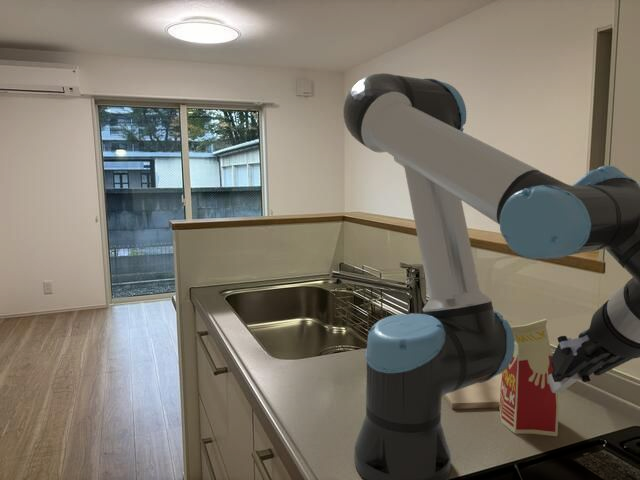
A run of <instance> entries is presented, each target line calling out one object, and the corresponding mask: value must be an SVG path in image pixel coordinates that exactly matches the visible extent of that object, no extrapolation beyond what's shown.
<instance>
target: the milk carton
mask: <svg viewBox="0 0 640 480" xmlns="http://www.w3.org/2000/svg"><path fill="white" fill-rule="evenodd" d="M547 322H548V319H547V318H544V319H541V320H537V321H534V322H530V323H528V324H521V325H515V326H510V327H511V329H512V332H513V336H514V343H515V347H514V354H513V358H512V360H511V362H510V364H509V365H508V366H507V368H506V369H505V370H504V371H503V372H502V379H501V387H500V406H499V407H498V408H499V415H500V416H499V417H500V422H501V424H502V425H504V426H505V427H506V428H508V429H509V430H510V431H511V432H513V433H514V434H516V435H517V434H521V435H522V434H527V435H528V434H530V435H531V434H534V435H542V436H553V437H558V429H559V427H558V426H559V413H560V412H559V411H560V410H559V409H560V404H559V393H552V391H551V388H550V385H549V382H548V379H547V376H549V375H550V374H551V373H552V372H553V368H552V365H551V362H550V360H551V358H552V356H553V352H552V347H551V343H550V339H549V335H548V331H547V330H548V329H547Z"/></svg>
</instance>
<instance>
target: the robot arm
mask: <svg viewBox="0 0 640 480" xmlns="http://www.w3.org/2000/svg"><path fill="white" fill-rule="evenodd" d="M345 97H346V98H345V99H344V104H343V120H344V123H345V126H346V129H347V130H348V132H349V133H350V134H351V136H352V137H353V138H354V139H355V140H356V141H357V142H358V143H360V144H361V145H363V146H365V147H366V148H367V149H369V150H371V151H372V152H375V153H378V154H379V153H388V154H389V155H391V156H392V157H393V161H394V162H395V163H397V164H398V165H400V166H402V167H403V168H404V173H405V178H406V183H407V187H408V193H409V200H410V203H411V208H412V215H413V221H414V225H415V231H416V235H417V240H418V246H419V252H420V256H421V261H422V265H423V266H422V267H423V272H424V277H425V281H426V282H425V284H426V286H427V287H426V288H427V293H428V301H426V303H425V305H424V307H423V308H422V313H414V312H411V313H409V314H405V313H400V314H399V313H398V314H392V315H390V316H386V317H383V318H382V319H380V320H378V321H377V322H375V323H374V324H373V325H372V326H371V328H370V329H369V331H368V334H367V343H366V344H367V345H366V349H365V360H366V385H365V386H366V390H365V391H366V393H365V394H366V396H365V398H366V399H365V401H366V402H365V404H366V405H365V417H364V419H363V421H362V425H361V428H360V430H359V432H358V433H359V434H358V436H357V439H356V442H355V444H354V454H353V455H354V460H353V461H354V466H355V469H356V471H357V472H358V474H359V475H360V476H361V477H362V478H363V479H365V480H448V479H449V477H450V475H451V461H452V459H451V453H450V448H449V445H448V442H447V438H446V436H445V433H444V429H443V426H442V419H441V418H442V417H441V416H442V398H443V395H445V394H447V393H450V392H453V391H456V390H459V389H462V388H465V387H467V386H470V385H473V384H476V383H482V382H485V381H488V380H490V379H491V378H493V377H494V376H496V375H498V374H500V373H502V372H503V371H504V370H505V369H506V368H507V366H508V365H509V364H510V362H511V360H512V358H513V354H514V347H515V343H514V336H513V332H512V329H511V327H512V326H511V325H510V324H509V322H508V320H506V319H504V318H503V315H502V314H501V313H500V312H498V311H497V310H494V306H493V302H492V301H493V300H492V298H491V297H489V296H487V295H486V294H485V293H483V291H482V290H481V289H480V285H479V280H478V275H477V270H476V266H475V265H476V264H475V259H474V256H473V251H472V250H473V249H472V245H471V241H470V235H469V229H468V227H467V222H466V216H465V215H466V214H465V211H464V207H463V203H465V204H467V205H468V206H469V207H471V208H473V209H475V210H476V211H478V212H479V213H480V214H482V215H483V216H485V217H487V218H489V219H490V220H492V221H493V222H495V223H496V224H497V225H499V231H500V233H501V236H502V237H503V238H504V240H505V242H506V244H507V247H509V249H510V250H511V251H512V252H513V253H516V254H517V255H518V256H520V257H521V256H522V257H524V258H526V259H527V258H528V259H535V260H536V259H538V260H539V259H540V260H541V259H545V260H554V259H561V258H566V257H568V256H572V255H573V256H574V255H578V254H583V253H588V252H594V251H601V250H605V251H607V253H608V254H609V255H610V256H612V257H613V259H614V260H615V262H617V263H618V264H619V265H620V266H621V267H622V268H623V269H625V270H626V271H627V272H628V274H629V275H630V276H631V277H632V278H631V279H629V280H628V281H627V282H626V283H625V284H624V285H623V286H621V287H620V288H619V289H618V290H617V291H615V292H614V294H613V295H611V296H610V298H609V299H608V300H606V302H604V303H603V304H602V305H601V306H600V307H599V308H598V309H597V310H596V311H595V312H594V313H593V314H592V318H591V320H590V325H589V328H587V329H585V330H583V331H581V332H580V333H579V334H578V337H577V338H573V339H572V338H571V337H567V336H566V335H560V336H558V337H557V341H558V344H557V346H556V348H555V350H554V352H553V353H552V358H551V360H550V362H551V365H552V368H553V372H552V373H551V374H550V375H549V376H547V379H548V382H549V385H550V388H551V391H552V393H558V394H561V393H562V392H564V391H566V389H568V388H569V387H571V386H572V385H573V384H574V383H576V382H577V381H579V380H580V379H581V381H582V382H583V383H588V382H591V380H592V379H590V375H592V374H593V376H600V375H603V374H605V373H607V372H608V371H611V370H613V369H615V368H617V367H619V366H621V365H623V364H625V363H627V362H629V361H631V360H634V359H639V358H640V184H639V183H638V181H636V180H635V179H633V178H632V177H630V176H628V175H627V174H625V173H624V172H623V171H622V170H621V169H619V168H618V167H616V166H613V165H602V166H599V167H598V168H596V169H592V170H590V171H588V172H586V173H585V174H583V175H581V177H580V178H578V179H577V180H576V181H575V182H574V183H573V184H572V185H571V184H567V183H566V182H563V181H561V180H560V179H557V178H555V177H553V176H551V175H549V174H547V173H545V172H542V171H540V170H539V169H538V168H536V167H534V166H531V165H529V164H527V163H525V162H523V161H521V160H519V159H518V158H515V157H513V156H511V155H510V154H508V153H506V152H503V151H502V150H499V149H498V148H496V147H494V146H492V145H490V144H488V143H486V142H484V141H482V140H480V139H478V138H476V137H473V136H472V135H469V134H468V133H466V132H464V130H465V129H464V125H466V123H467V108H466V103H465V101H464V99H463V97H462V95H461V93H460V92H459V91H458V89H456V87H454V86H453V85H451V84H449V83H447V82H443V81H440V80H437V79H435V78H418V77H410V76H405V75H398V74H392V73H375V74H371V75H368V76H365V77H363V78H362V79H360V80H358V81H357V82H356V83H355V84H354V85H353V86H352V87H351V89H349V91H348V93H347V96H345Z"/></svg>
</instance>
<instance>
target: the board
mask: <svg viewBox="0 0 640 480" xmlns="http://www.w3.org/2000/svg"><path fill="white" fill-rule="evenodd" d="M501 379H502V373H500V374H498V375H496V376H494V377H493V378H491V379H490V380H488V381H485V382H482V383H476V384H473V385H470V386H467V387H465V388H462V389H459V390H456V391H453V392H450V393H447V394H445V395H443V396H442V398H444V400H445V401H446V402H447V404H448V405H449V407H450V408H451V410H461V409H465V410H466V409H490V408H491V409H493V408H496V409H497V408H499V406H500V387H501Z"/></svg>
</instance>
